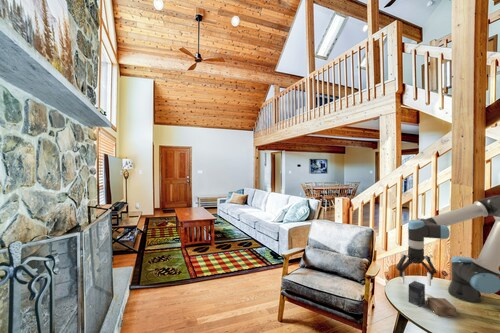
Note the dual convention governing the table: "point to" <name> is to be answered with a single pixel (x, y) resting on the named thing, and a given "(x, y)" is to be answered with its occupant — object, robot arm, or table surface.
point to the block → (441, 307)
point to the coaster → (428, 296)
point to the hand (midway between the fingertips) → (415, 283)
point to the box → (416, 293)
